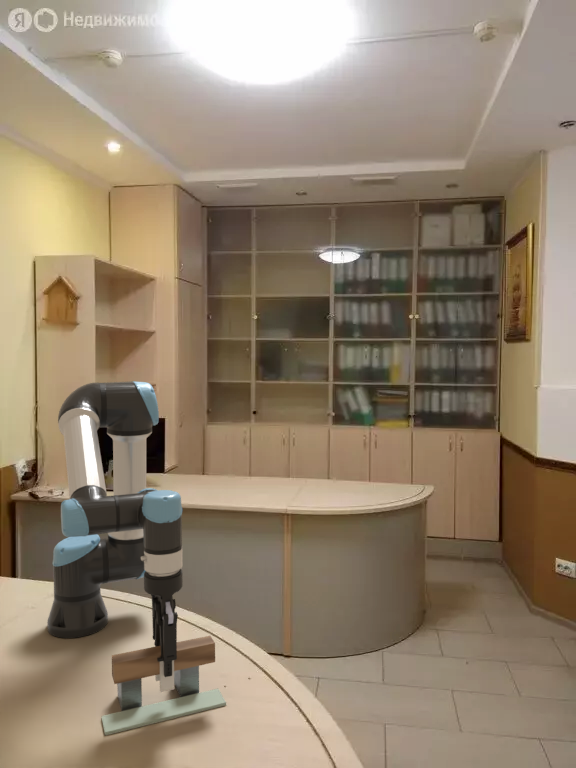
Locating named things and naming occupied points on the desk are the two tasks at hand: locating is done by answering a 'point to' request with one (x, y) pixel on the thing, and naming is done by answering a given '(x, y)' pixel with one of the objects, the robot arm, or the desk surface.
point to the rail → (146, 659)
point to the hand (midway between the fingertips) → (164, 684)
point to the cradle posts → (132, 689)
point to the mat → (162, 711)
